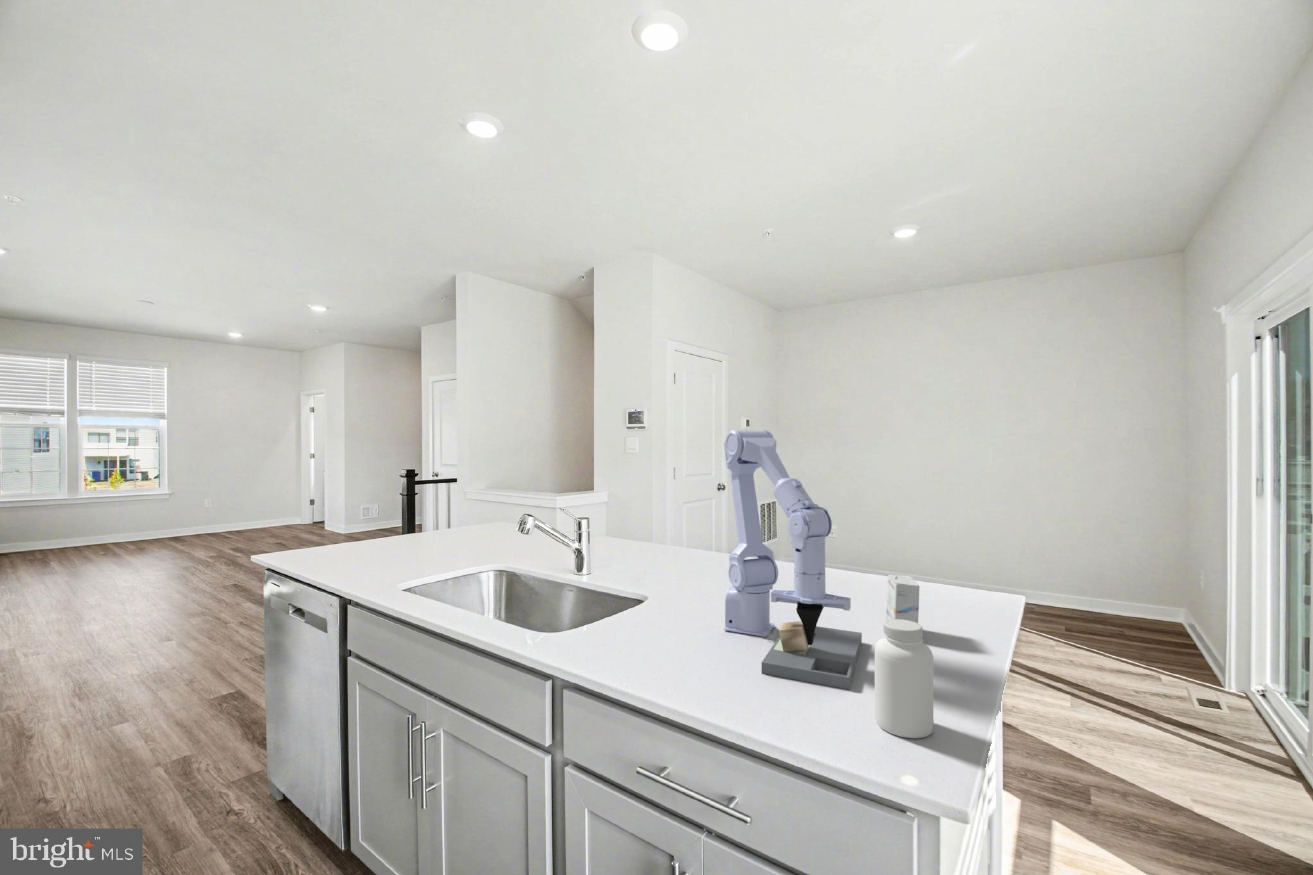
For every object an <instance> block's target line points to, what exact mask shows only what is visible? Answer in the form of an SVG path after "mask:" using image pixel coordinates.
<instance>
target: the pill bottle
mask: <svg viewBox="0 0 1313 875" xmlns="http://www.w3.org/2000/svg"><path fill="white" fill-rule="evenodd" d="M923 636H924V631H923V626H922V625H921V624H920V623H919V622H918V623H916V622H913V621H908V620H901V619H892V620H887V621H886V620H885V621H884V622H883V637H882V638H880V639H879V640H878V641H877V642H876V644H875V646H874V718H875V719H874V720H875V722H876V724H877V726H879V727H880V729H882V730H883V731H885V732H887V733H890V734H891V735H895V736H897V737H902V738H906V739H923V738H925V737H928V736H930V735H931V734H932V732H933V730H934V655H933V652H932V650H931V648H930V647H929V646H928V645H927V644H926V643H924V637H923Z"/></svg>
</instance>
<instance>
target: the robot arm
mask: <svg viewBox="0 0 1313 875" xmlns="http://www.w3.org/2000/svg"><path fill="white" fill-rule="evenodd" d="M723 450H724V457H725V465H726V468H727V469H729V475H730V476H729V478H730V485H731V492H732V493H731V494H732V501H733V507H734V508H733V509H734V517H735V523H736V524H735V525H736V532H737V541H738V546H736V548H735V549H734V550H733V551H732V552H731V553H729V556H728V559H729V563H728V564H729V566H728V574H727V575H728V579H729V581H730V584H731V585H732V586H729V587H728V588H727V589H726V594H725V602H724V608H725V609H724V616H725V617H724V627H723V630H724V631H727V632H733V633H740V634H745V635H746V634H747V635H751V636H752V635H753V636H758V637H768V636H769V634H770V633H771V631H772V630H773V629H774V627H775V623H771V622H770V621H771V620H770V619H771V618H770V617H771V616H770V615H771V613H770V612H771V611H770V608H771V606H770V605H771V604H770V603H771V602H772V603H777V602H779V603H786V604H787V603H788V604H796V609H795V610H796V613H797V615H798V617H799V619H800V621H802V624H803V626H804V629H805V632H806V636H807V643H808V645H812V644H813V640H814V632H815V628H816V626H817V624H818V622H819V619H820V617H821V614H822V612H823V610H824V608H831V609H841V610H843V611H849V612H850V611H851V607H852V606H851V604H852V603H851V602H852V601H851V600H852V599H851V597H846V596H841V595H836V594H831V593H826V538H827V537H828V536H829V535H830V533H831V532H832V527H833V523H832V518H831V516H830V514H829V511H828V509H826V508H825V507H822V506H820V505H818V504H817V503H814V501H813V499H812V498H811V497H810V495H809V494H808V492H807V490H806V489H805V488H804V486H803V483H802V482H801V481H800V480H798V479H797V478H791V477H790V475H789V473H788V471H787V469H786V468H785V466H784V464H783V462H782V459H780V456H779V455H778V453H777V440H776V439H775V438H774V436H773V433H772V432H771V431H770V430H766V429H764V430H738V429H732V430H730V431H729V432H728V433H727V435H726V437H725V440H724V442H723ZM759 468H761V469H762V470H763V472H764V473H765V474H766V476H767V477H768V479H769V480H770V481H771V482H772V484H773V486H775V487H774V490H773V496H774V498H775V499H776V500H777V503H778V504H779V506H780V507H781V509H782V510H783V512H784V514H785V515H786V517H787V519H788V522H787V523H786V525H787V532H788V533H789V535H790V540H791V542H790V543H791V546H792V548H793V557H794V558H793V559H794V560H793V561H794V562H793V565H794V566H793V567H794V569H793V570H794V571H793V572H794V575H793V576H794V578H793V579H794V580H793V581H794V585H793V586H794V587H793V588H794V590H791V589H790V590H789V589H788V590H786V589H785V590H782V589H781V590H780V589H773V588H774V587H773V586H774V585H775V584H776V583H777V582H778V579H779V568H778V565H777V563H776V561H775V558H774V552H773V550H772V549H771V548H769V547H768V546H766V545H765V544H764V542H763V536H762V530H761V521H760V516H759V515H760V514H759V510H758V509H759V507H758V500H757V499H758V498H757V493H756V486H755V480H754V479H755V478H754V473H755V472H756V470H757V469H759ZM750 557H756V558H750ZM771 590H772V591H771Z"/></svg>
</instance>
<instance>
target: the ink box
mask: <svg viewBox="0 0 1313 875" xmlns="http://www.w3.org/2000/svg"><path fill="white" fill-rule="evenodd" d="M886 587H887V589H886V590H887V591H886V608H885V609H886V610H885V611H886V612H885V621H887V620H892V619H901V620H908V621H913V622H916V623H918V624H919V611H920V610H919V609H920V585H919V584H918V583H917V582H916V581H915V579H914V578H913V577H912V576H911V575H901V574H893V573H892V574H891V573H890V574H888V575H887V586H886Z"/></svg>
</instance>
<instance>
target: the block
mask: <svg viewBox="0 0 1313 875" xmlns="http://www.w3.org/2000/svg"><path fill="white" fill-rule="evenodd" d="M778 635H779V636H780V639H781V643H782V648H783V652H785V651H796V650H807V649H808V646H809V645H808V643H807V636H806V632H805V629H804V626H803V624H802V621H801V620H799V621H791V622H789V621H788V622H783V623H781V625H780V628H778Z"/></svg>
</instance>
